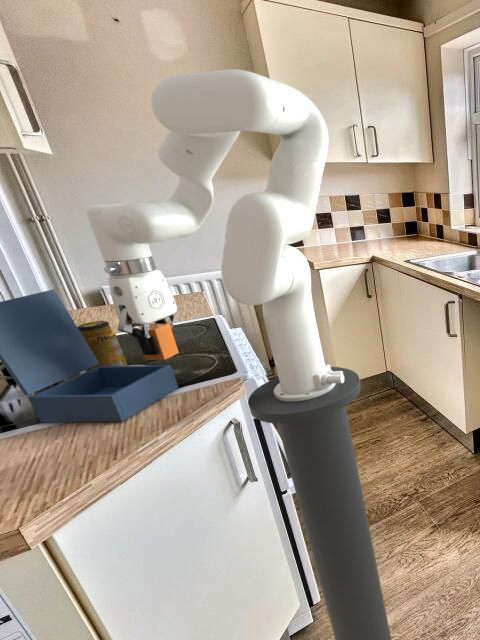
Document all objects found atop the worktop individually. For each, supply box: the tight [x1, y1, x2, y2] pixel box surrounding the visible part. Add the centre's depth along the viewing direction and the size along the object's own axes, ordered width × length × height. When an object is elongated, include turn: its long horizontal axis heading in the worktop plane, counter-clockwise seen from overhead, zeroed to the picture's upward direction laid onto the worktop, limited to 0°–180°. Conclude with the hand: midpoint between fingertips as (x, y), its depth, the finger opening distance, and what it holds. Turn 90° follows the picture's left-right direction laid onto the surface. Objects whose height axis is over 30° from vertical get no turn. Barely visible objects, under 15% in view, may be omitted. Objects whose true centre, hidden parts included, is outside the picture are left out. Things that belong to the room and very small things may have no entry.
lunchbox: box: [28, 364, 179, 424], centre depth 83 cm, size 16×14×5 cm
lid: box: [0, 288, 99, 396], centre depth 79 cm, size 16×14×5 cm
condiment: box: [77, 320, 144, 370], centre depth 96 cm, size 7×8×12 cm
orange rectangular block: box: [139, 323, 179, 361], centre depth 92 cm, size 4×4×7 cm
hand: (160, 349), depth 93 cm, fingers closed on orange rectangular block, 4 cm apart
